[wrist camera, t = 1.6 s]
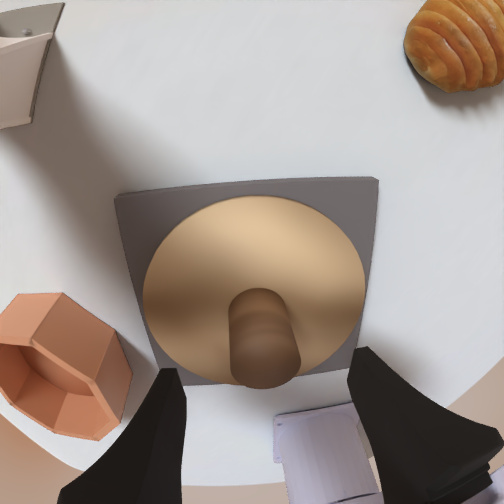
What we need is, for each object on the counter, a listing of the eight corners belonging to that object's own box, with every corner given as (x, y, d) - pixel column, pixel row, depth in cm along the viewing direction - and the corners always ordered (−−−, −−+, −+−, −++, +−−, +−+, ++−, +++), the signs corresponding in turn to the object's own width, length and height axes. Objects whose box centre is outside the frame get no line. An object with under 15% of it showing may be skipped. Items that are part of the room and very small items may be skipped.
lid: (346, 363, 19) (368, 417, 15) (171, 381, 19) (163, 439, 14) (369, 189, 14) (421, 222, 10) (124, 207, 14) (84, 249, 9)
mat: (347, 359, 20) (351, 367, 20) (166, 377, 20) (165, 385, 19) (371, 176, 15) (378, 180, 14) (118, 194, 14) (113, 198, 13)
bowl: (144, 398, 21) (135, 445, 17) (44, 389, 20) (28, 427, 16) (101, 290, 16) (73, 339, 12) (-7, 294, 16) (-39, 330, 12)
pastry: (436, 120, 14) (480, 127, 10) (371, 20, 11) (408, 1, 8) (505, 62, 12) (543, 62, 8) (456, -21, 9) (492, -34, 6)
